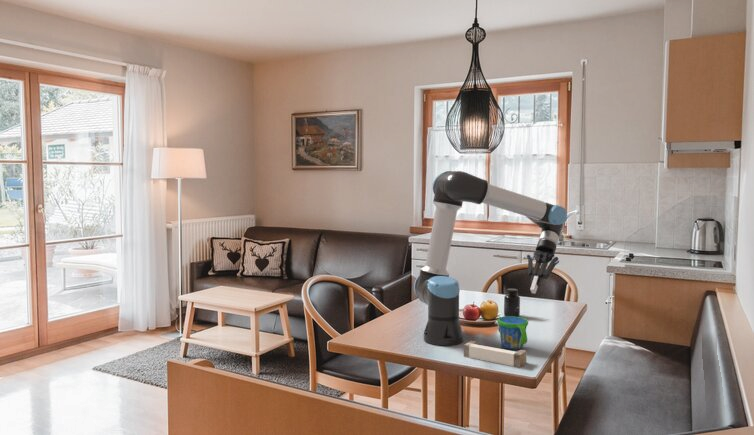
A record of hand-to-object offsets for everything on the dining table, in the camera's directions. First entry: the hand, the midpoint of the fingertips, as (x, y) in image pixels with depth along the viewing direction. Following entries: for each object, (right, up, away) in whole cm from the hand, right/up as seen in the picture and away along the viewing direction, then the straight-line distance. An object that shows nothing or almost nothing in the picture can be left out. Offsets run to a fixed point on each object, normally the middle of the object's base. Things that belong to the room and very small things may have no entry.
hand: (532, 291), depth 214 cm
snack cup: (-12, -18, -15) cm, 26 cm away
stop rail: (-21, -19, -28) cm, 40 cm away
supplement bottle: (-1, -15, +29) cm, 33 cm away
